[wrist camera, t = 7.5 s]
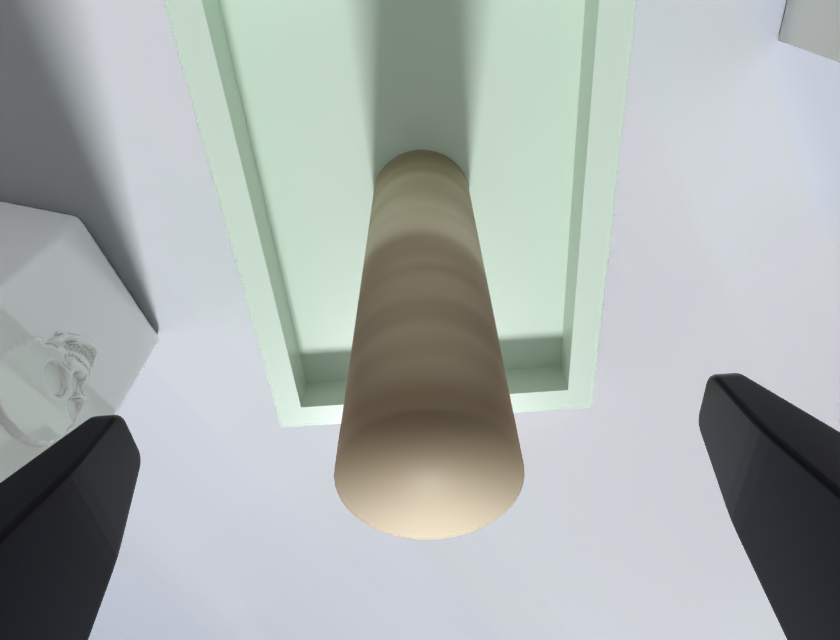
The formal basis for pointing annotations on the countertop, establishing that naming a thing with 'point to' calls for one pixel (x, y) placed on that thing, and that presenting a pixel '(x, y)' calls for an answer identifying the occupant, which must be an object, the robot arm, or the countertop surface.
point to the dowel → (426, 366)
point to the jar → (60, 333)
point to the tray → (401, 132)
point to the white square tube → (813, 26)
